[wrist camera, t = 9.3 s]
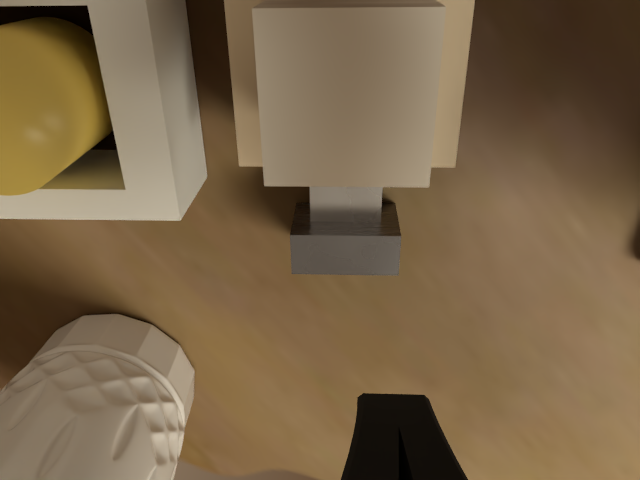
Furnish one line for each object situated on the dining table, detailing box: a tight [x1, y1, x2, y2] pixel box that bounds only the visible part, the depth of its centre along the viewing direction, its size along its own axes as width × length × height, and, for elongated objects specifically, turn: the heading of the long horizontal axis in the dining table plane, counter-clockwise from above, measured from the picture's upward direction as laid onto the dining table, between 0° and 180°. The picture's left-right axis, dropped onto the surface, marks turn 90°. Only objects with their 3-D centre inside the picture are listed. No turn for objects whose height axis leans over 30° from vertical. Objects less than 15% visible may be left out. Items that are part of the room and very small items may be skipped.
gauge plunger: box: [0, 17, 113, 196], centre depth 15 cm, size 4×4×4 cm
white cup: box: [0, 314, 194, 480], centre depth 20 cm, size 8×8×10 cm
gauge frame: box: [0, 0, 207, 221], centre depth 16 cm, size 8×7×4 cm
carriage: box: [224, 0, 475, 187], centre depth 13 cm, size 6×6×7 cm
